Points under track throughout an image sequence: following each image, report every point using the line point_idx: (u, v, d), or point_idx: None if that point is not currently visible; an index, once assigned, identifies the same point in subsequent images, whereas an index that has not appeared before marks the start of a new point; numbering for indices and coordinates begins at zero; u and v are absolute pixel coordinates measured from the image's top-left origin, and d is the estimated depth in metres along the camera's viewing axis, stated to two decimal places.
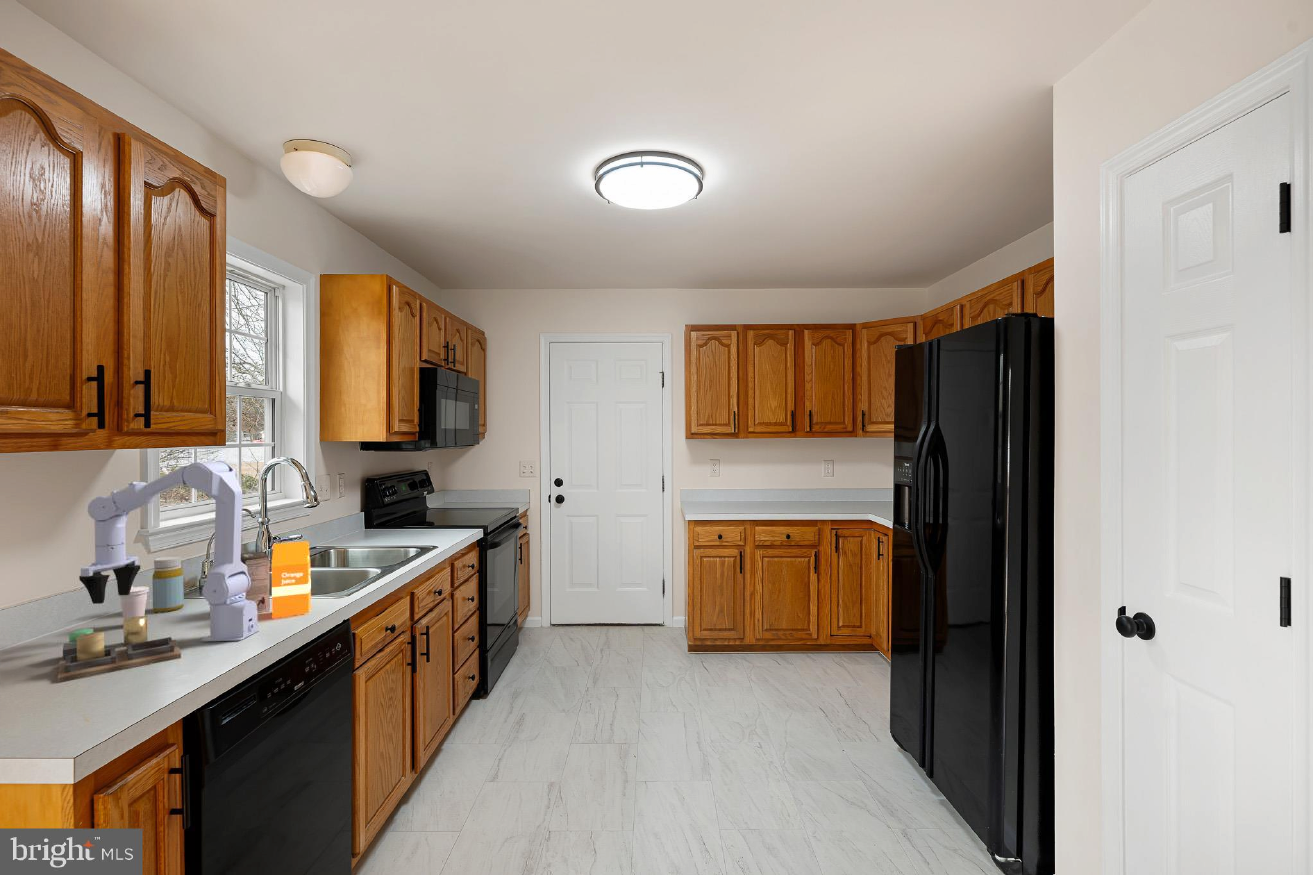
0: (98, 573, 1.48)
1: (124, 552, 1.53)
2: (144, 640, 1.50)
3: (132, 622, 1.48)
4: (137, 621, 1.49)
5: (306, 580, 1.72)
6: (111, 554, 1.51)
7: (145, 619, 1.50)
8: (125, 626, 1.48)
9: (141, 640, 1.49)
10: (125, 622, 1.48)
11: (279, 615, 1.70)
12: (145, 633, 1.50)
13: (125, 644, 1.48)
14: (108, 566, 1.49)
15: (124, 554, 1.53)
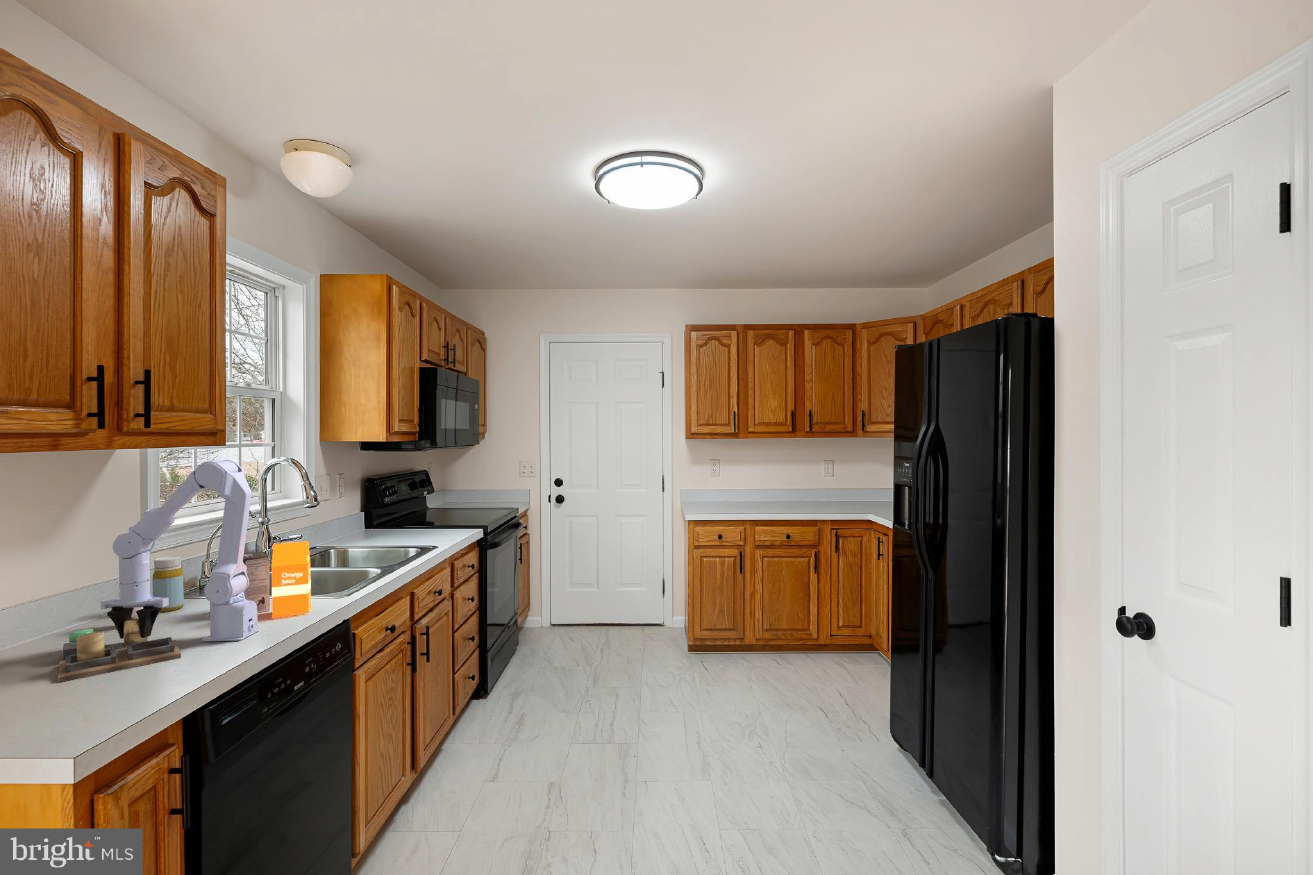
0: (112, 608, 1.49)
1: (128, 593, 1.47)
2: (144, 640, 1.50)
3: (132, 622, 1.48)
4: (137, 621, 1.49)
5: (306, 580, 1.72)
6: (119, 592, 1.48)
7: None
8: (125, 626, 1.48)
9: (141, 640, 1.49)
10: (125, 622, 1.48)
11: (279, 615, 1.70)
12: None
13: (125, 644, 1.48)
14: (114, 603, 1.48)
15: (128, 595, 1.47)
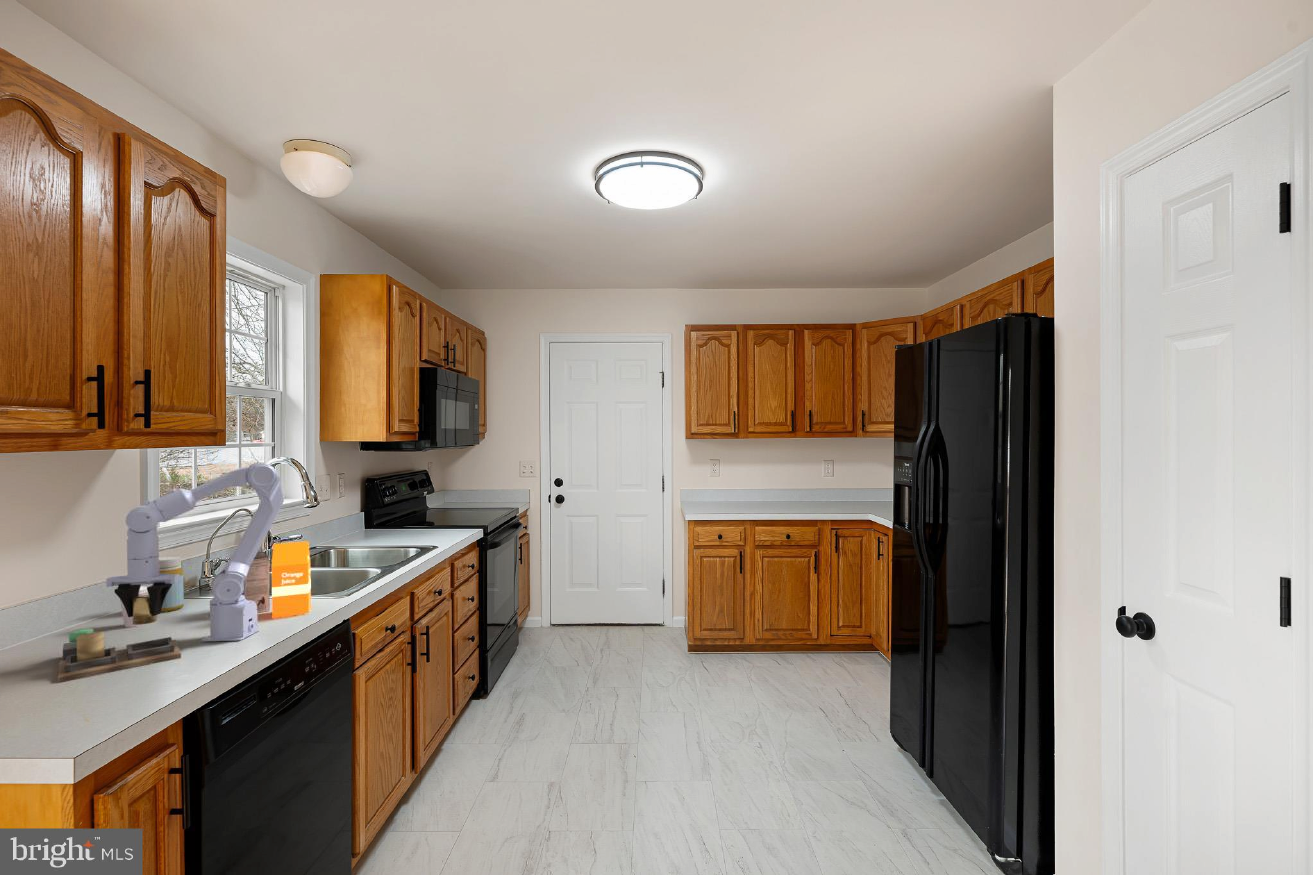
0: (119, 585, 1.43)
1: (138, 569, 1.41)
2: (155, 618, 1.45)
3: (144, 599, 1.43)
4: (149, 598, 1.43)
5: (306, 580, 1.72)
6: (127, 568, 1.42)
7: None
8: (135, 604, 1.42)
9: (152, 618, 1.44)
10: (135, 600, 1.42)
11: (279, 615, 1.70)
12: None
13: (135, 623, 1.42)
14: (122, 580, 1.42)
15: (138, 571, 1.41)
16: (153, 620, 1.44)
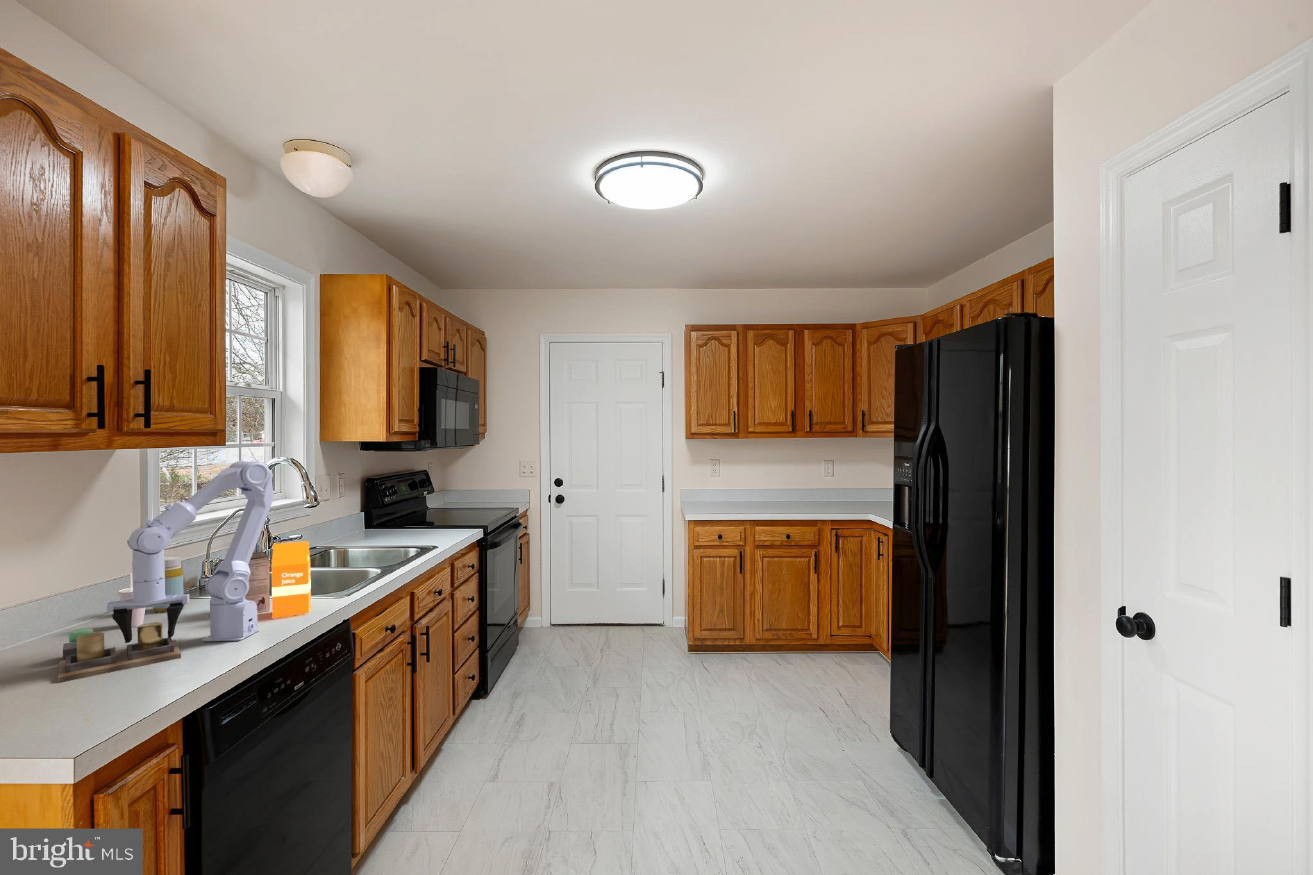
0: (122, 610, 1.38)
1: (149, 591, 1.39)
2: None
3: (153, 628, 1.40)
4: (158, 626, 1.41)
5: (306, 580, 1.72)
6: (135, 591, 1.38)
7: None
8: (144, 633, 1.39)
9: (161, 646, 1.41)
10: (144, 629, 1.39)
11: (279, 615, 1.70)
12: (162, 639, 1.42)
13: None
14: (128, 604, 1.37)
15: (149, 593, 1.39)
16: None
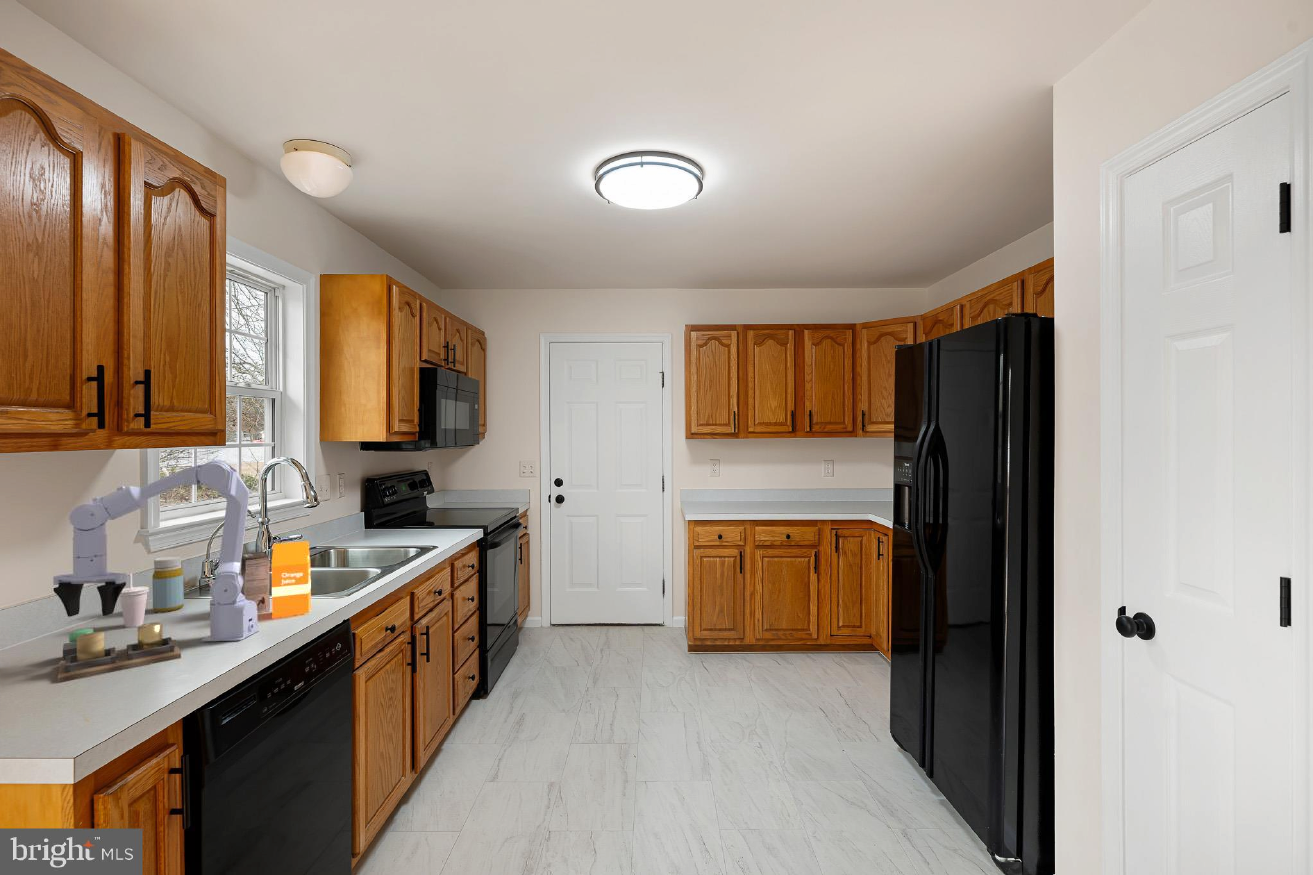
0: (65, 584, 1.40)
1: (83, 567, 1.38)
2: None
3: (153, 628, 1.40)
4: (158, 626, 1.41)
5: (306, 580, 1.72)
6: (73, 566, 1.39)
7: None
8: (144, 633, 1.39)
9: (161, 646, 1.41)
10: (144, 629, 1.39)
11: (279, 615, 1.70)
12: (162, 639, 1.42)
13: None
14: (67, 579, 1.38)
15: (83, 570, 1.38)
16: None
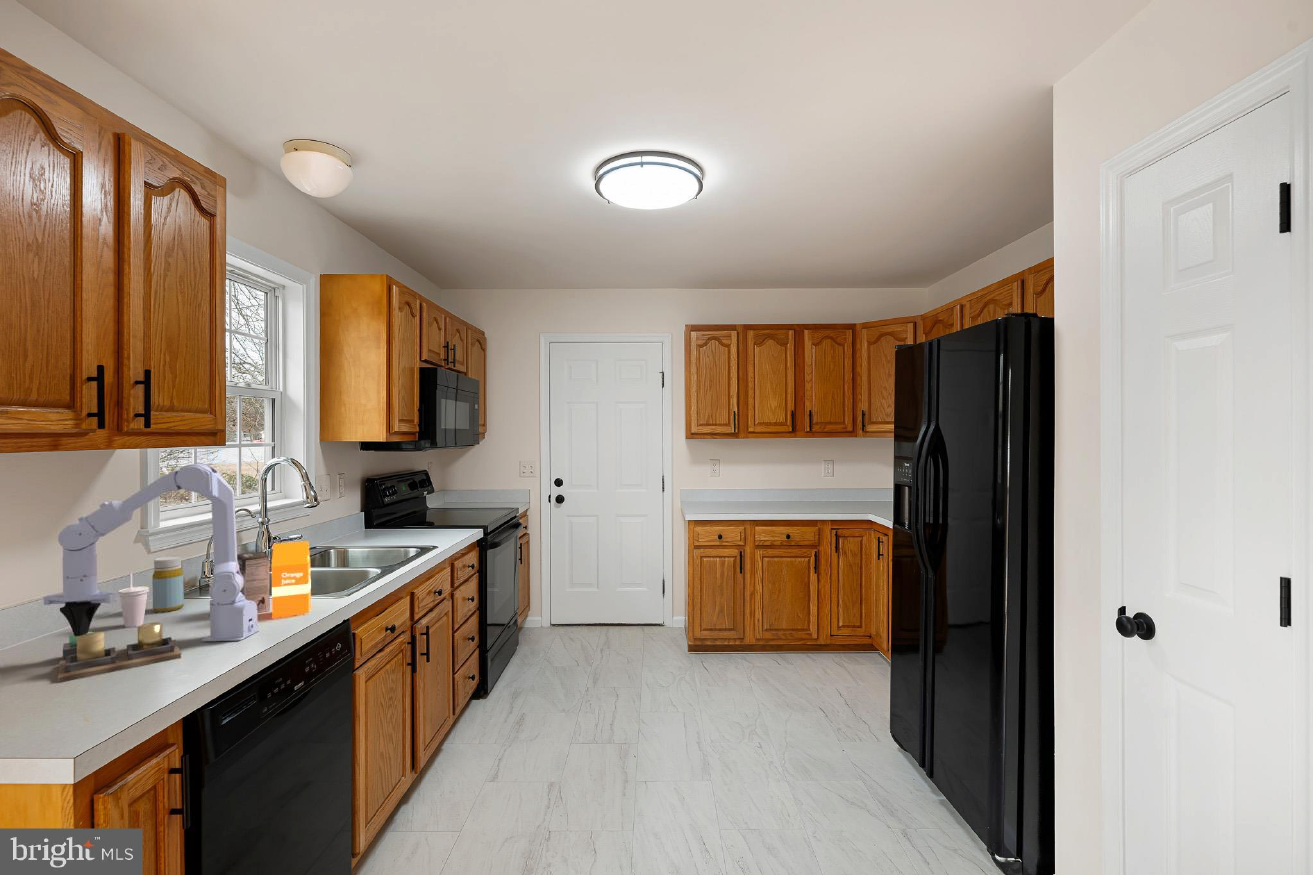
0: None
1: (72, 588, 1.38)
2: None
3: (153, 628, 1.40)
4: (158, 626, 1.41)
5: (306, 580, 1.72)
6: (63, 587, 1.39)
7: None
8: (144, 633, 1.39)
9: (161, 646, 1.41)
10: (144, 629, 1.39)
11: (279, 615, 1.70)
12: (162, 639, 1.42)
13: None
14: (57, 599, 1.38)
15: (72, 590, 1.38)
16: None
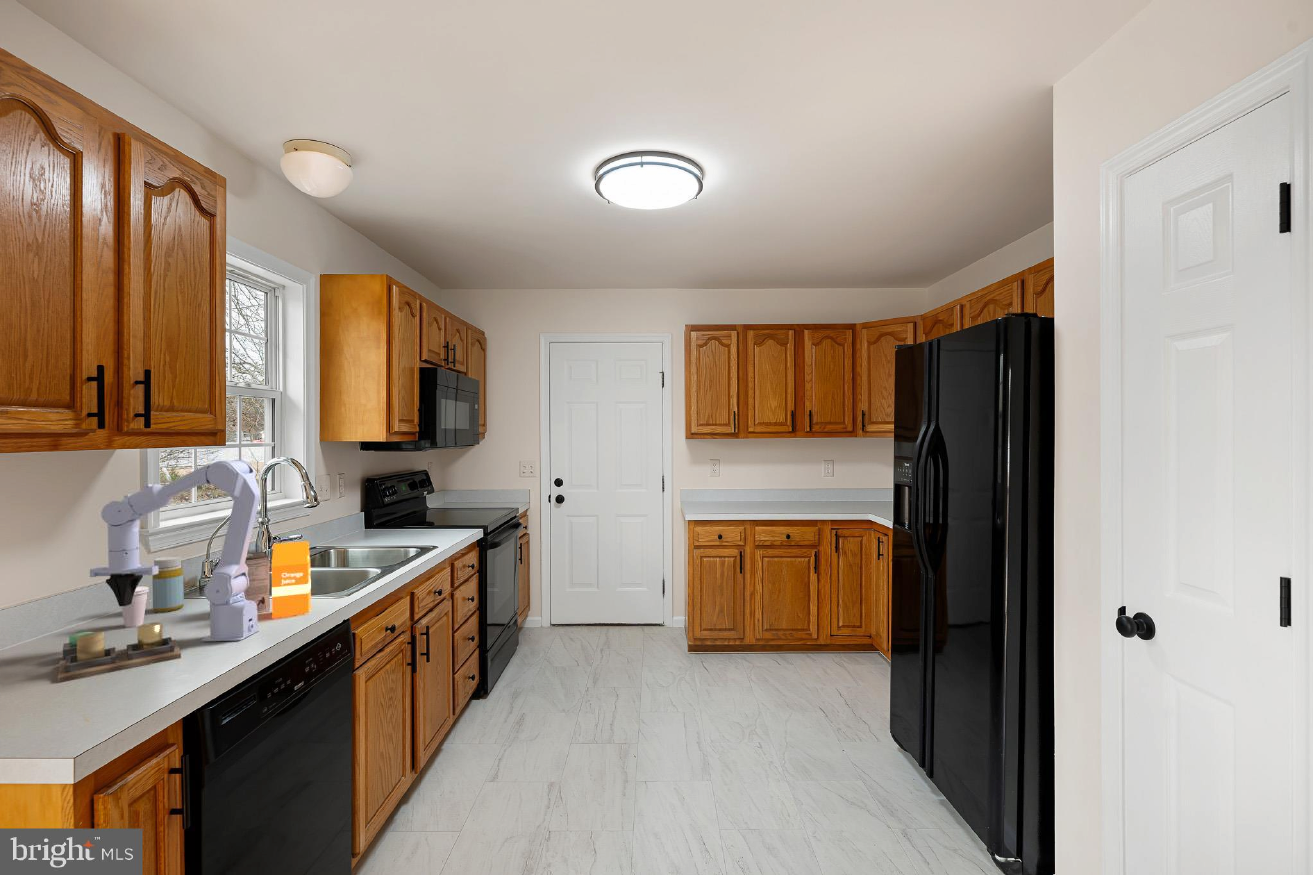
0: None
1: (118, 560, 1.47)
2: None
3: (153, 628, 1.40)
4: (158, 626, 1.41)
5: (306, 580, 1.72)
6: None
7: None
8: (144, 633, 1.39)
9: (161, 646, 1.41)
10: (144, 629, 1.39)
11: (279, 615, 1.70)
12: (162, 639, 1.42)
13: None
14: (103, 571, 1.47)
15: (118, 562, 1.47)
16: None
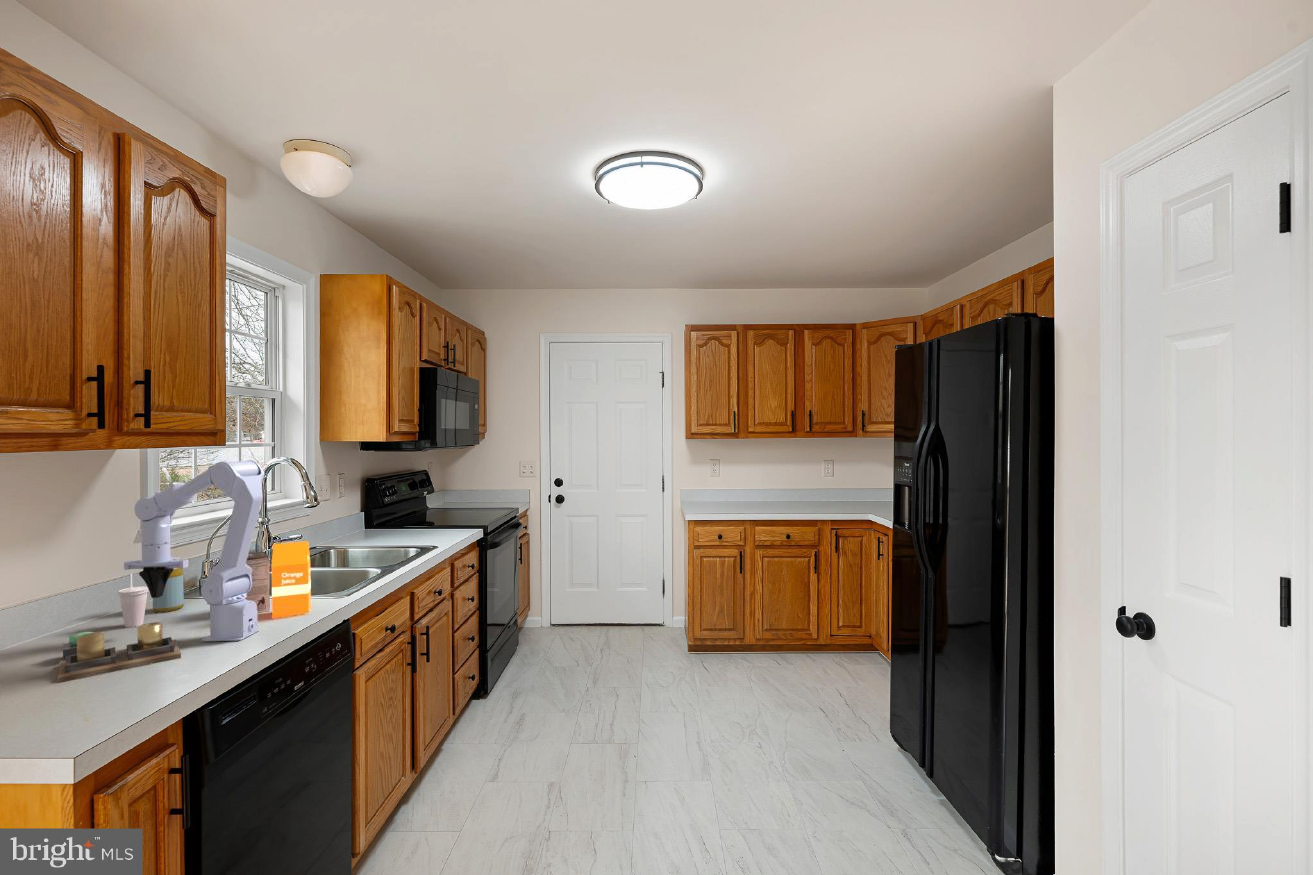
0: None
1: (151, 554, 1.54)
2: None
3: (153, 628, 1.40)
4: (158, 626, 1.41)
5: (306, 580, 1.72)
6: (142, 553, 1.55)
7: None
8: (144, 633, 1.39)
9: (161, 646, 1.41)
10: (144, 629, 1.39)
11: (279, 615, 1.70)
12: (162, 639, 1.42)
13: None
14: (136, 564, 1.55)
15: (150, 556, 1.54)
16: None
